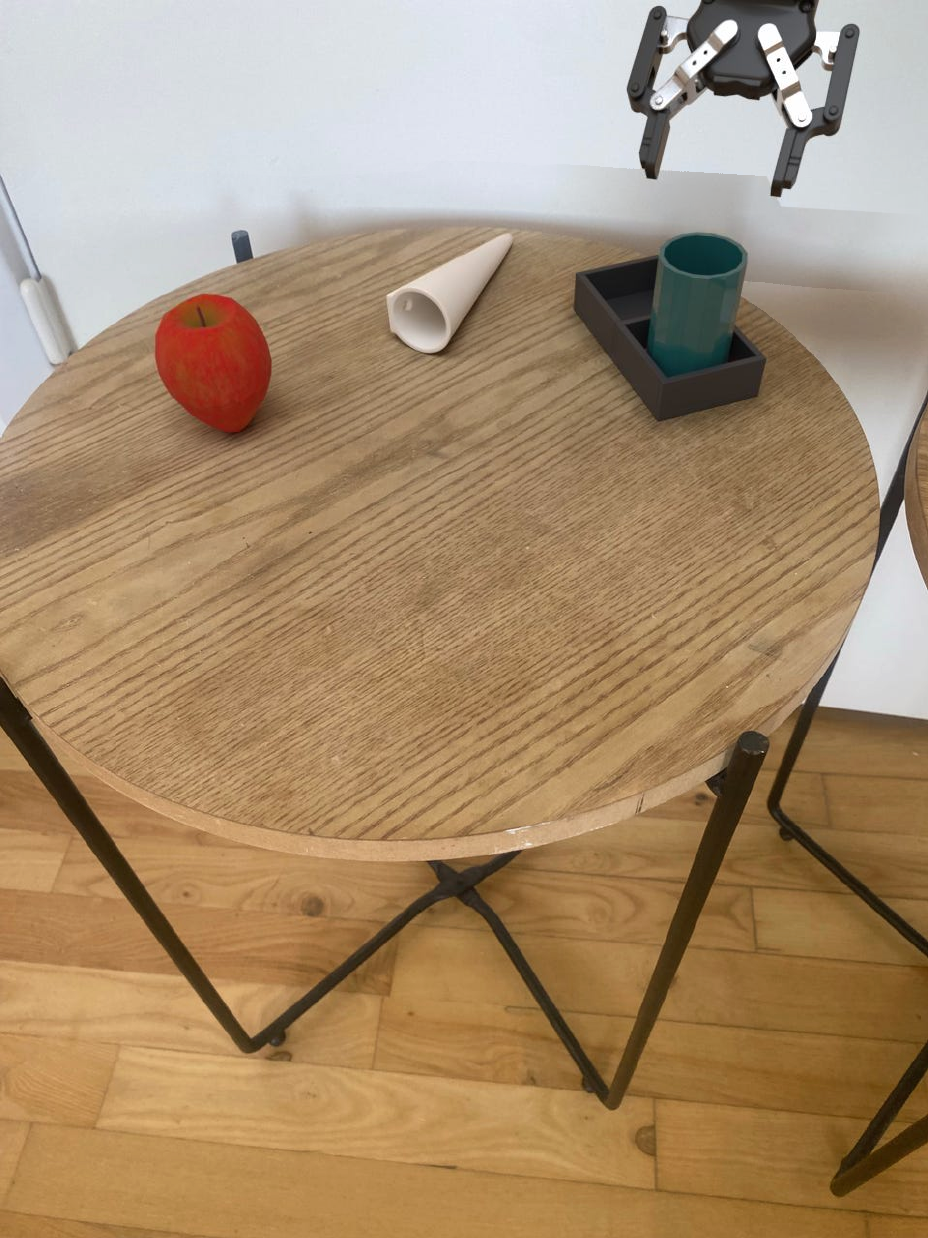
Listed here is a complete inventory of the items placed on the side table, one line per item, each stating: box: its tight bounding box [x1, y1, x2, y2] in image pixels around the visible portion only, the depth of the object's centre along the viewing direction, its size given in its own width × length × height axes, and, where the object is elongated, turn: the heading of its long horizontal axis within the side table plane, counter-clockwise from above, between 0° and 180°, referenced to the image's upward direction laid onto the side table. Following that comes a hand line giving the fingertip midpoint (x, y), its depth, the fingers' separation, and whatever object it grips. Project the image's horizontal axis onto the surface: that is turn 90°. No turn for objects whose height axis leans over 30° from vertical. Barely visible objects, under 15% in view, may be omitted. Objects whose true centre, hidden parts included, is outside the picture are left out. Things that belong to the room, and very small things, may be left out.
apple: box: [154, 293, 273, 434], centre depth 73 cm, size 9×8×11 cm
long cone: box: [386, 233, 514, 354], centre depth 86 cm, size 6×6×19 cm
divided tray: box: [573, 253, 767, 422], centre depth 80 cm, size 17×9×4 cm, turn 19°
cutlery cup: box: [646, 231, 749, 378], centre depth 74 cm, size 6×6×10 cm
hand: (712, 183), depth 65 cm, fingers open, 8 cm apart
